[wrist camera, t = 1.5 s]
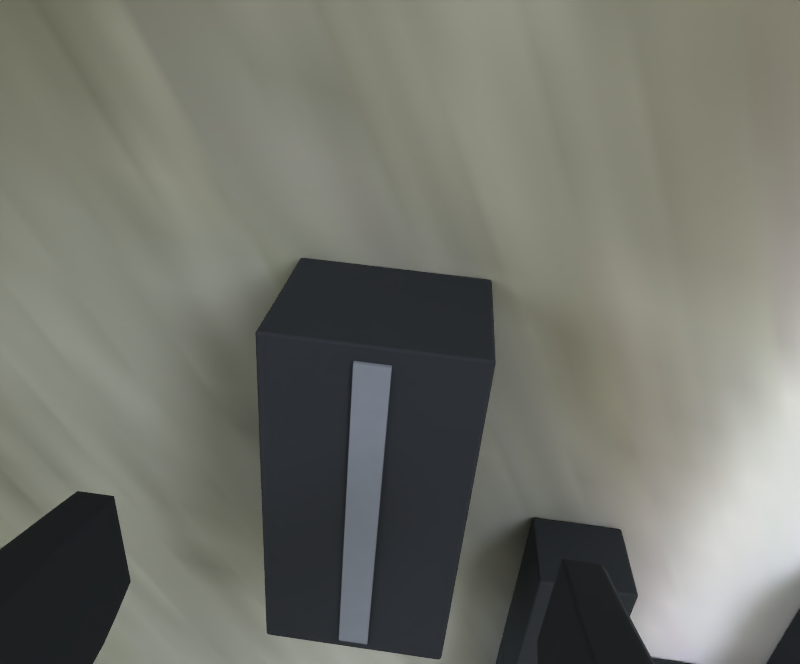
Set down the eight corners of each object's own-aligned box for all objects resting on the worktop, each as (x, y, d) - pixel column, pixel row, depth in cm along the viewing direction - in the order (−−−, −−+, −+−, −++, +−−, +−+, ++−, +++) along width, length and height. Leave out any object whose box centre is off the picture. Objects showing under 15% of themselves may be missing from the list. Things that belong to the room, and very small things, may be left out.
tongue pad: (446, 549, 21) (440, 664, 18) (299, 528, 22) (265, 638, 18) (491, 279, 16) (496, 364, 13) (300, 256, 17) (252, 334, 13)
